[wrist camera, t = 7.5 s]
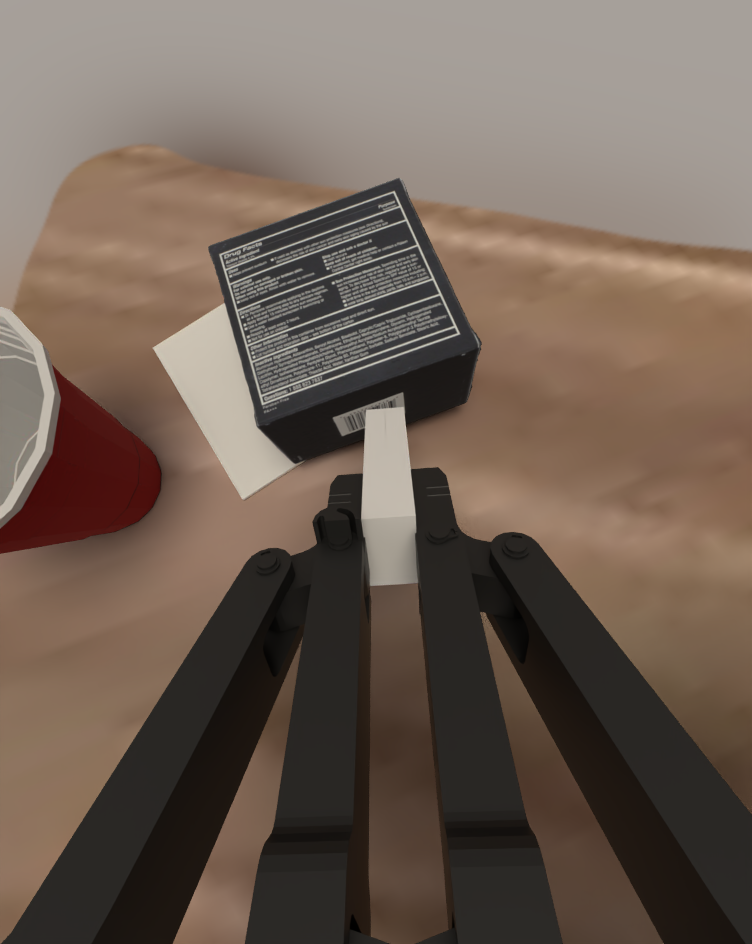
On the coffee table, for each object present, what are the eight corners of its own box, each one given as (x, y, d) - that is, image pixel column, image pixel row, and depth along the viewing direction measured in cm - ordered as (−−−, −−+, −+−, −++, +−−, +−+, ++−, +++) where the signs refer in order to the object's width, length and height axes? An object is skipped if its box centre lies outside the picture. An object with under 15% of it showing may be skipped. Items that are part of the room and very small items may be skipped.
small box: (470, 407, 25) (408, 262, 28) (486, 346, 19) (405, 168, 22) (293, 468, 25) (250, 317, 28) (252, 427, 19) (202, 239, 22)
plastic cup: (189, 376, 28) (31, 249, 16) (216, 547, 26) (59, 545, 14) (23, 416, 28) (-252, 320, 16) (38, 588, 26) (-262, 621, 14)
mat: (427, 381, 27) (428, 379, 27) (244, 500, 26) (242, 499, 26) (327, 242, 29) (326, 239, 29) (155, 349, 28) (152, 347, 28)
